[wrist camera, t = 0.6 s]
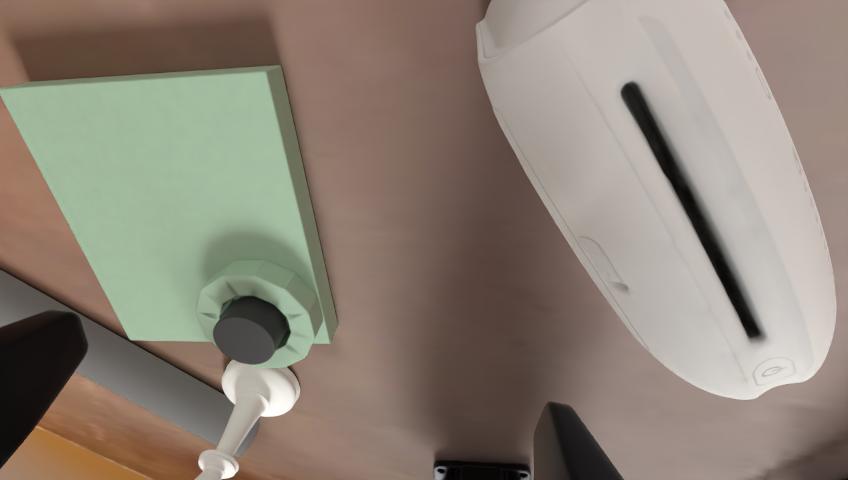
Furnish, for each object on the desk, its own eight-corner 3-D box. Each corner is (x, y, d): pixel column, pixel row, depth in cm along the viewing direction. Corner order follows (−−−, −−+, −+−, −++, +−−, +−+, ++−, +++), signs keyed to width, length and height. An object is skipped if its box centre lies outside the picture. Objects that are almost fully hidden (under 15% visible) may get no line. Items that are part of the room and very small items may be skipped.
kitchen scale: (339, 330, 25) (324, 369, 23) (150, 328, 27) (115, 364, 24) (281, 64, 18) (249, 77, 16) (29, 81, 20) (-39, 95, 17)
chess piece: (295, 416, 30) (220, 592, 21) (224, 396, 29) (118, 566, 21) (304, 366, 27) (224, 543, 18) (226, 345, 27) (108, 513, 18)
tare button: (292, 343, 23) (281, 365, 21) (238, 342, 23) (223, 364, 22) (279, 296, 21) (265, 317, 20) (220, 296, 21) (203, 316, 20)
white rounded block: (678, 169, 19) (948, 408, 8) (584, 219, 20) (705, 474, 10) (562, -65, 15) (768, -193, 4) (459, 17, 17) (429, 67, 6)
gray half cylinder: (241, 444, 32) (229, 467, 30) (-35, 296, 27) (-66, 315, 26) (268, 417, 30) (257, 440, 28) (-24, 253, 25) (-57, 270, 24)
